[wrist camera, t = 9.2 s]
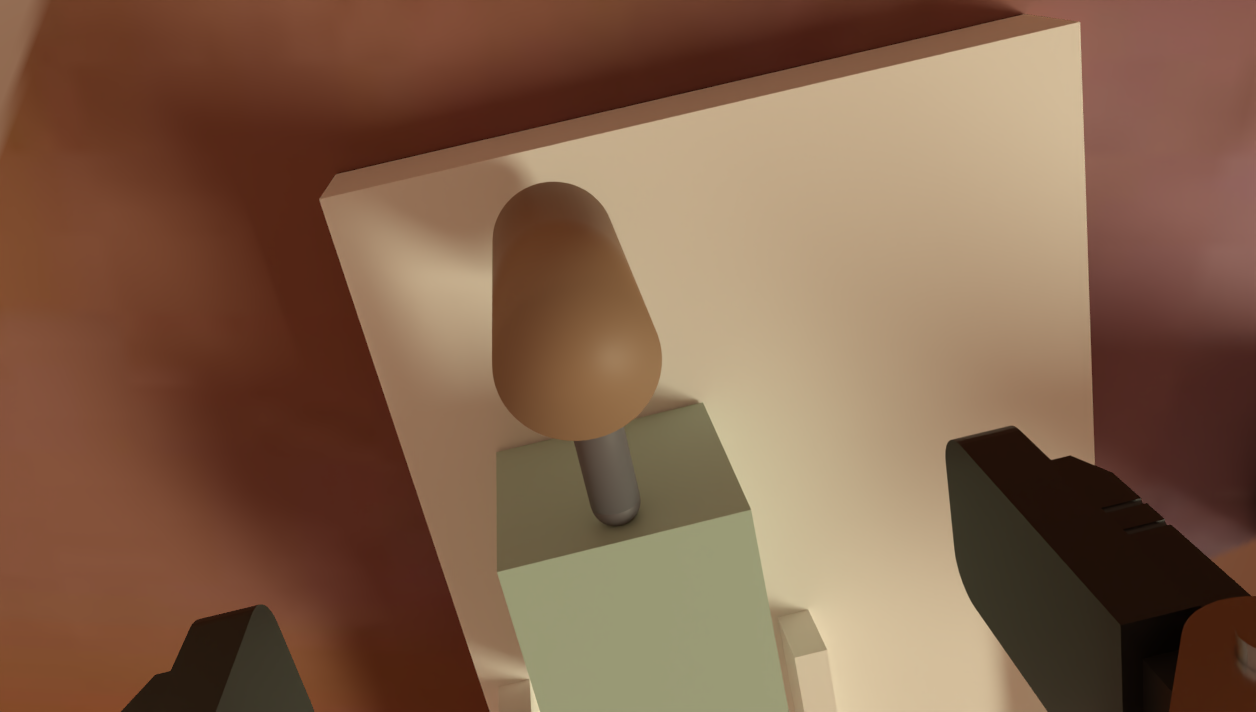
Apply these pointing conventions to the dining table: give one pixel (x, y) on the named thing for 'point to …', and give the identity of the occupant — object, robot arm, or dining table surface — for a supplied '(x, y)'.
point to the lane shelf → (779, 330)
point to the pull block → (614, 489)
